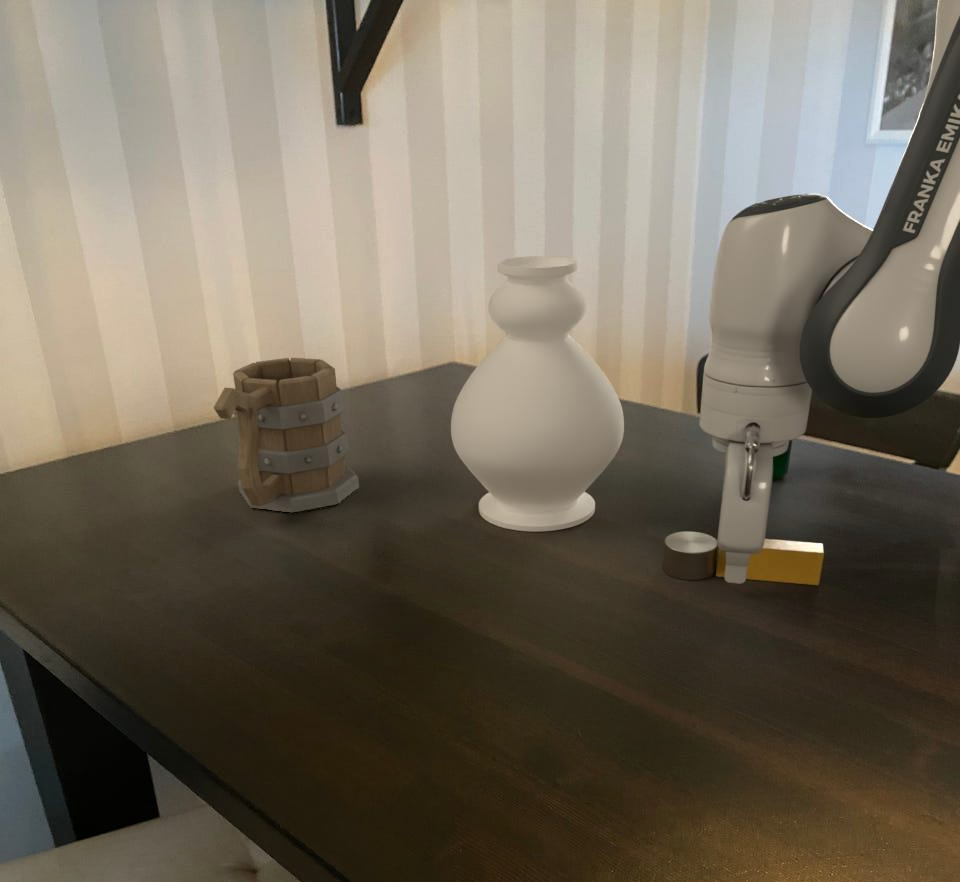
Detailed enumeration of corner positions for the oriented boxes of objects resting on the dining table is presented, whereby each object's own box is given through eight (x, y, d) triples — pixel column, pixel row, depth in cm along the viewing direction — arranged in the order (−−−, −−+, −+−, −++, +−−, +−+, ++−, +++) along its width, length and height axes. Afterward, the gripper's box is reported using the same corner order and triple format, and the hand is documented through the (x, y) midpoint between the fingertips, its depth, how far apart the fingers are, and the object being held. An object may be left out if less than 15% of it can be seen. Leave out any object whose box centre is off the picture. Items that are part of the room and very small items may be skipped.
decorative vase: (640, 491, 104) (654, 251, 92) (587, 553, 90) (596, 281, 78) (495, 471, 111) (490, 246, 98) (425, 527, 97) (410, 272, 85)
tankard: (279, 468, 114) (261, 343, 106) (373, 478, 110) (361, 348, 103) (183, 531, 98) (154, 389, 90) (289, 545, 94) (268, 398, 87)
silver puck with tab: (816, 569, 86) (822, 537, 85) (819, 592, 82) (825, 559, 81) (665, 556, 90) (667, 525, 88) (660, 577, 86) (662, 546, 84)
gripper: (796, 450, 69) (772, 613, 76) (790, 378, 86) (771, 517, 93) (709, 445, 71) (693, 606, 77) (720, 375, 88) (706, 513, 94)
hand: (736, 557), depth 85 cm, fingers open, 8 cm apart
